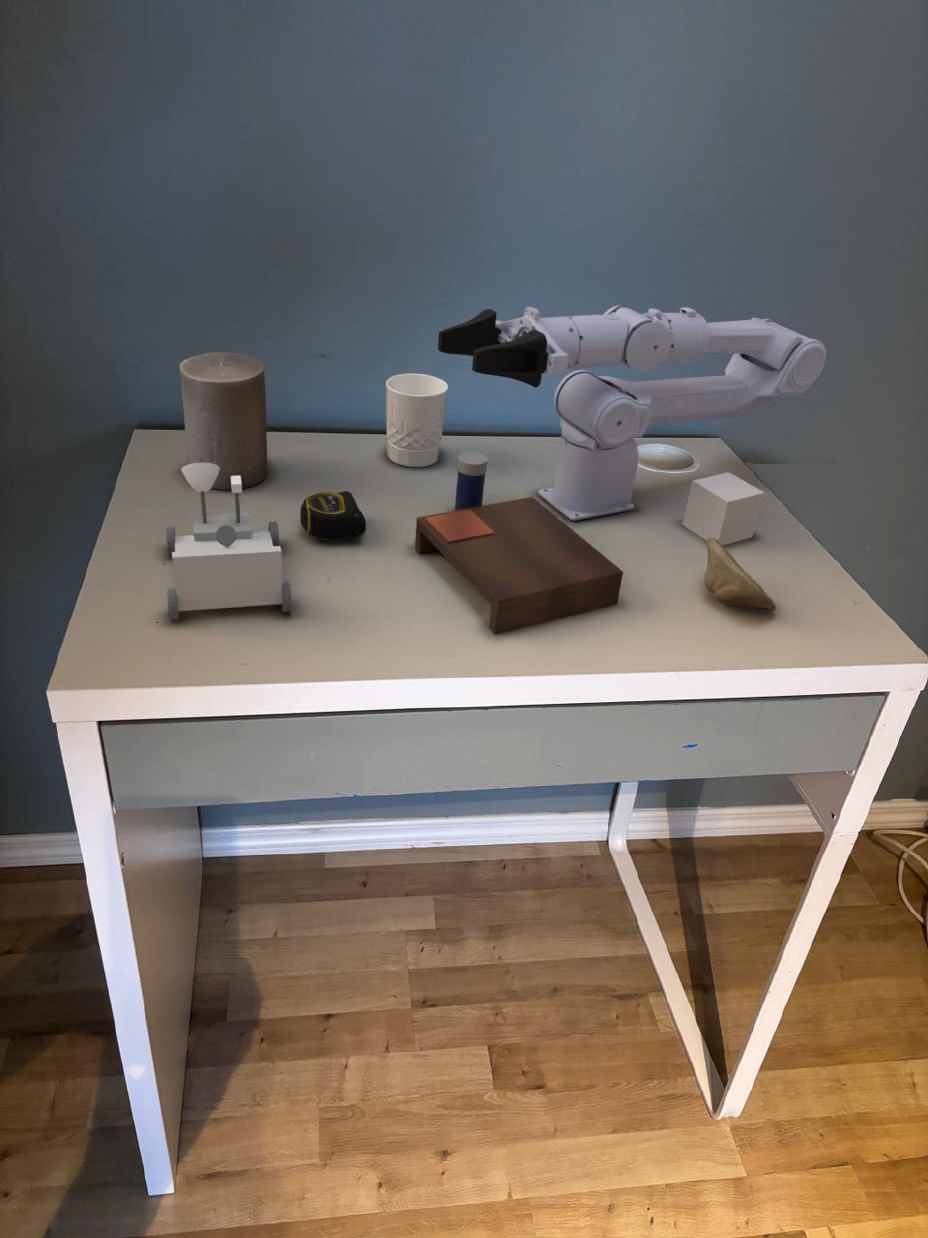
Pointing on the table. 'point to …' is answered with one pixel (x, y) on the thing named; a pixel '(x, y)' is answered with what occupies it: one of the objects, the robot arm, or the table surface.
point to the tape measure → (332, 516)
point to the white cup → (415, 418)
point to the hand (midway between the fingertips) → (456, 351)
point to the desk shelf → (522, 561)
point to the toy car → (224, 556)
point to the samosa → (732, 580)
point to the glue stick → (470, 480)
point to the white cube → (723, 508)
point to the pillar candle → (226, 415)
